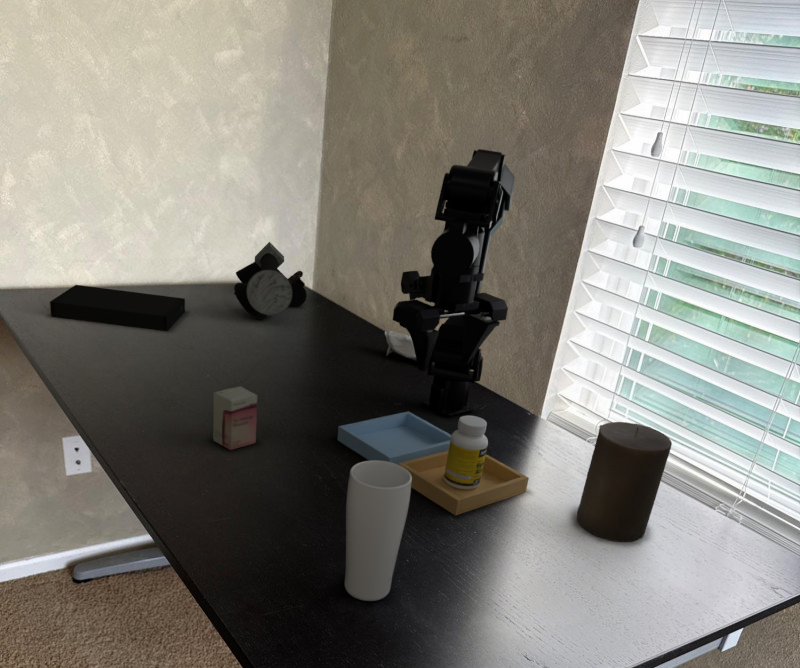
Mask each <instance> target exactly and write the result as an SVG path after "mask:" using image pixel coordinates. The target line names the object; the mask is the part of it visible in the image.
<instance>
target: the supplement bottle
mask: <svg viewBox="0 0 800 668" xmlns="http://www.w3.org/2000/svg"><path fill="white" fill-rule="evenodd" d="M487 425H488V422H487V421H486V420H485V419H484V418H482V417H479V416H475V415H462V416H460V417H459V419H458V423H457V429H456V430H454V431H453V432H452V433H451V434H450V435H451V440H450V445H449V451H448V456H447V462H446V467H445V473H444V480H445V482H446V483H447V484H448V485H450V486H452V487H454V488H458V489H464V490H470V489H475V488H476V487H478V486H479V484H480V480H481V475H482V470H483V466H484V461H485V456H486V454H487V450H488V445H489V441H488V440H489V439H488V437H487V436H486V435H485V434H486V431H487Z"/></svg>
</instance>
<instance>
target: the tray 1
mask: <svg viewBox="0 0 800 668" xmlns="http://www.w3.org/2000/svg"><path fill="white" fill-rule="evenodd" d="M451 435H452V434H451V433H449V432H446V431H444V430H443V429H441V428H439V427H438V426H436V425H434V424H432V423H430V422H429V421H427V420H425V419H423V418H421V417H419V416H418V415H416V414H414V413H413V412H411V411H409V410H408V411H404V412H399V413H394V414H389V415H384V416H380V417H376V418H370V419H366V420H361V421H358V422H357V421H356V422H353V423H347V424H343V425H339V426H338V430H337V441H338V442H340V443H341V444H342V445H344V446H345V447H347V448H349V449H351V450H352V451H353V452H355V453H357V454H358V455H360V456H361V457H363V458H365V459H366V460H367V461H371V460H378V461H386V462H391V463H394V464H397V465H398V464H399V463H403V462H406V461H409V460H413V459H417V458H421V457H425V456H428V455H432V454H436V453H440V452H443V451H447V450H449V445H450V440H451Z"/></svg>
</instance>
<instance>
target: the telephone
mask: <svg viewBox="0 0 800 668" xmlns="http://www.w3.org/2000/svg"><path fill="white" fill-rule="evenodd" d="M284 263H285V256H284V254H283V253H281V251H280V250H278V248H276V247H275V245H274V244H272V242H271V241H268V242H267V244H265V246H264V247H262V249H261V250H260V251H259V252H258V253H257V254H256V255H255V256H254V262H251V263H249V264H248V265H246V266H244V267H243V268H241V269H239V270H236V272H235V275H236V277H237V279H238V280H239V281H240V282H236V283H235V284H234V287H233V290H234V292H233V295H235V296H236V300H237V301H238V302H239V304H240V306H241V307H242V308H243V309H244V310H245V311H246V312H247V313H248V314H249V315H250V316H252V317H254V318H255V319H257V320H266V319H267V317H268V316H276V315H279V314H281V313H283V312H284V311H285V310H287V309H288V307H292V308H298V307H300V306H302V305H303V304H304V303H306V300H307V296H308V295H307V291H306V288H305V286H306V284H305V282H304V281H303V280H302V277H303V275H304V272H303V271H302V270H298V271H296V272H294V273H293V274H292V275H291V276H289V277H288V278H287V277H286V276H285V274H283V273H282V272H281V271H280V270H279V268H280V266H282V265H283V264H284Z"/></svg>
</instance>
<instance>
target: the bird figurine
mask: <svg viewBox="0 0 800 668" xmlns="http://www.w3.org/2000/svg"><path fill="white" fill-rule="evenodd" d="M384 336H385V339H386V343H387V345H388V347H387V350H386V355H385V357H386V356H389V355H390V353H391V354H392V353H393V352H395V353H397V354H399V355H400V356H403V357H404V358H406V359H410V360H413V361H415V362H417V359H416V355H415V350H414V346H413V342H412V339H411V336H410V334H406V333H401V332H396V331H393V330H391V329H390V330H389V331H386V330H385V332H384Z"/></svg>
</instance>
